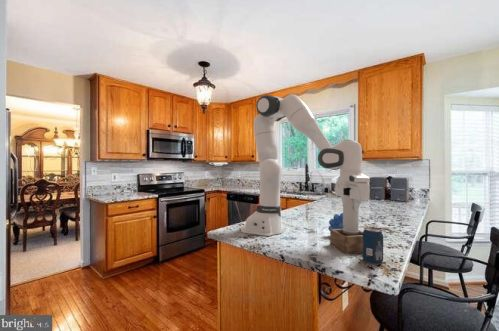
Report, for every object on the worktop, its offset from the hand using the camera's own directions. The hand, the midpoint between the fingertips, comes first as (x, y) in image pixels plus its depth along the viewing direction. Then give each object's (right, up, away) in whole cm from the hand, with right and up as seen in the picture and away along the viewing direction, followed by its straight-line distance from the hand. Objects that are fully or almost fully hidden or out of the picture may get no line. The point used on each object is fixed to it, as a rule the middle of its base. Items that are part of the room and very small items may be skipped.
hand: (350, 208), depth 102 cm
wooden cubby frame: (0, -17, 0) cm, 17 cm away
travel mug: (0, -11, 0) cm, 11 cm away
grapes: (+2, -17, +18) cm, 25 cm away
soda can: (+2, -17, -14) cm, 23 cm away
